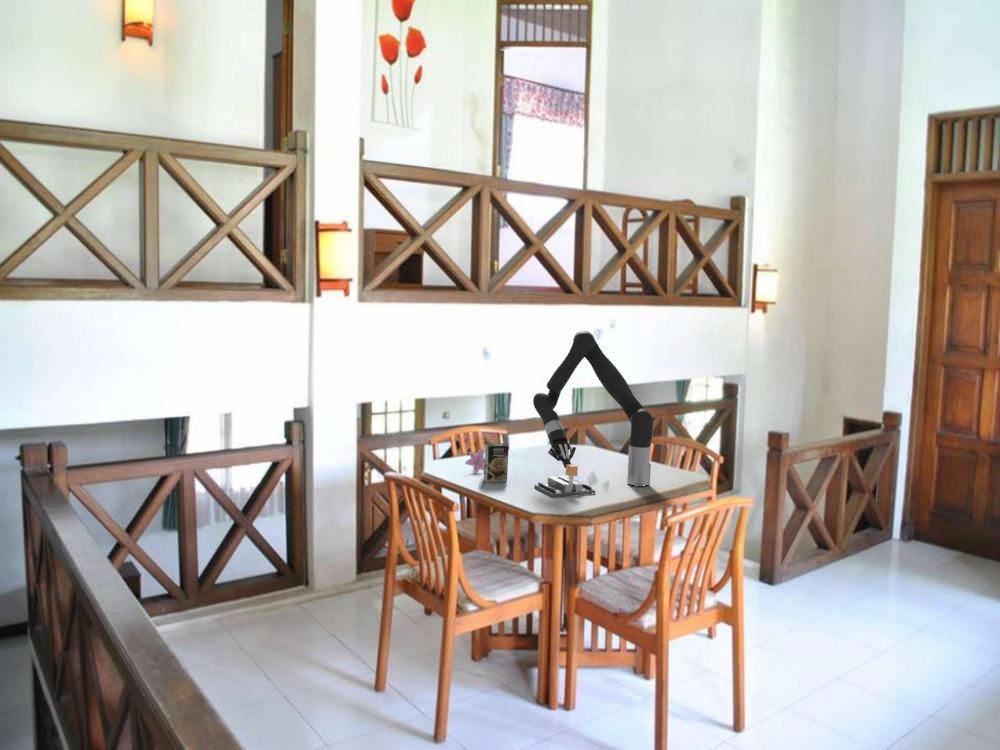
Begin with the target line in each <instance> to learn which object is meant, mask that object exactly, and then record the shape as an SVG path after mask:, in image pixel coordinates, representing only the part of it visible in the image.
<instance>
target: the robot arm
mask: <svg viewBox="0 0 1000 750" xmlns="http://www.w3.org/2000/svg"><path fill="white" fill-rule="evenodd" d="M572 340H573V343H572V345H571V347H570V350H569V352H568V353H567V354H566V356H565V358H564V359H563V361H561V363H560V364H559V366H558V367H557V368H556V369H555V371H554V372H553V374H552V376H551V377H550V378H549V380H548V381H547V383H546V388H547V389H548V393H544V392H538V393H536V394H535V395H534V396H533V399H532V402H533V406H534V409H535V410H536V412H537V414H538V415H539V417H540V419H541V420H542V423H543V425H544V429H545V433H546V436H547V438H548V442H549V444H550V448H549V450H548V452H547V453H548V454H549V455H550V456H551V457H553V458H554V459H555V460H556V461H557V462H559V461H560V462H562V465H563V468H565V469H566V465H569V464H572V463H571V460H572V458H573V457H574V455H575V452H576V450H577V447H576V446H571V444H570V443H569V441H568V437H567V434H566V431H565V429H564V427H563V424H562V422H561V419H560V418H559V415H558V413H557V412H556V411H555V408H556V406H557V405H558V401H559V399H560V396H561V392H562V391H563V389H564V388H565V387H566V385H567V383H568V381H570V379H571V376H572V375H573V374H574V372H575V370H576V369H577V367H578V366H579V365H580V363H581V362H582V361H583V360H584V358H585V359H586V360H587V361H588V363H589V364H590V367H592V370H593V372H594V374H595V375H596V377H597V378H598V379H597V380H599V382H600V383H601V385H602V386H603V388H604V389H605V391H606V392H607V393H608V394H609V395H610V396H611V397H612V399H613V400H614V401H616V403H617V404H618V405H619V406H620V407H621V409H622V410H623V412H624V413H625V415H626V417H627V418H628V420H629V423H630V425H631V426H630V437H629V441H628V442H629V443H628V457H627V458H628V459H627V460H628V462H627V475H626V483H628V484H631V485H639V486H643V485H651V473H652V472H651V471H652V464H651V463H650V462H651V446H652V445H651V444H652V440H653V429H654V419H653V415H652V413H651V412H649V411H648V409H646V408H645V407H644V406H643V405H642V404H641V403H640V402H639V400H638V399H637V398H636V397H635V395H634V393H633V391H632V390H631V387H630V386H629V384H628V382H627V380H626V379H625V378H624V376H623V375H622V374H621V372H620V371H619V369H618V368H617V367H616V366H615V365H614V364H613V362H612V361H611V360H610V359H609V358H608V357H607V356H606V355H605V354H604V352H603V351H602V349H601V348H600V346H599V344H598V342H597V341H596V339H595V336H594V335H593V334H592V333H591V332H590V331H588V330H579V331H577V332H575V334H574V336H573V339H572ZM628 484H627V485H628ZM631 485H630V486H631Z"/></svg>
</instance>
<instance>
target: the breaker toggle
mask: <svg viewBox="0 0 1000 750" xmlns="http://www.w3.org/2000/svg"><path fill="white" fill-rule="evenodd" d="M578 471H579V470H578V465H576V464H573V463H571V464H569V465H566V468H565V476H568V478H569V484H571V485H572V490H573V480H575V479H574V477H578Z"/></svg>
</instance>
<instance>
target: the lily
mask: <svg viewBox="0 0 1000 750" xmlns="http://www.w3.org/2000/svg"><path fill="white" fill-rule="evenodd" d="M468 454H469V456H470V458H469V459H468V460H466V461H465V462H464V464H465V465H468V466H470V467H473V468H472V470H473V469H474V470H473V472H474V474H475V473H476V474H477V473H478V472H479V471H480V470H481V471H483V472H484V466H485V452H484V449H483V448H480V449H479V450H478V451H477V453H476V454H475V453H474V452H471V451H468Z"/></svg>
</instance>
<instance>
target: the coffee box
mask: <svg viewBox="0 0 1000 750" xmlns="http://www.w3.org/2000/svg"><path fill="white" fill-rule="evenodd" d="M484 448H485V451H484V458H485V466H484V471H483V480H484V481H485V482H486V483H487V482H488V484H489V483H507V482H508V471H509V470H508V469H509V467H508V466H509V445H508V444H506V443H502V442H501V443H495V442H494V443H493V442H492V443H486V442H485V446H484Z"/></svg>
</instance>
